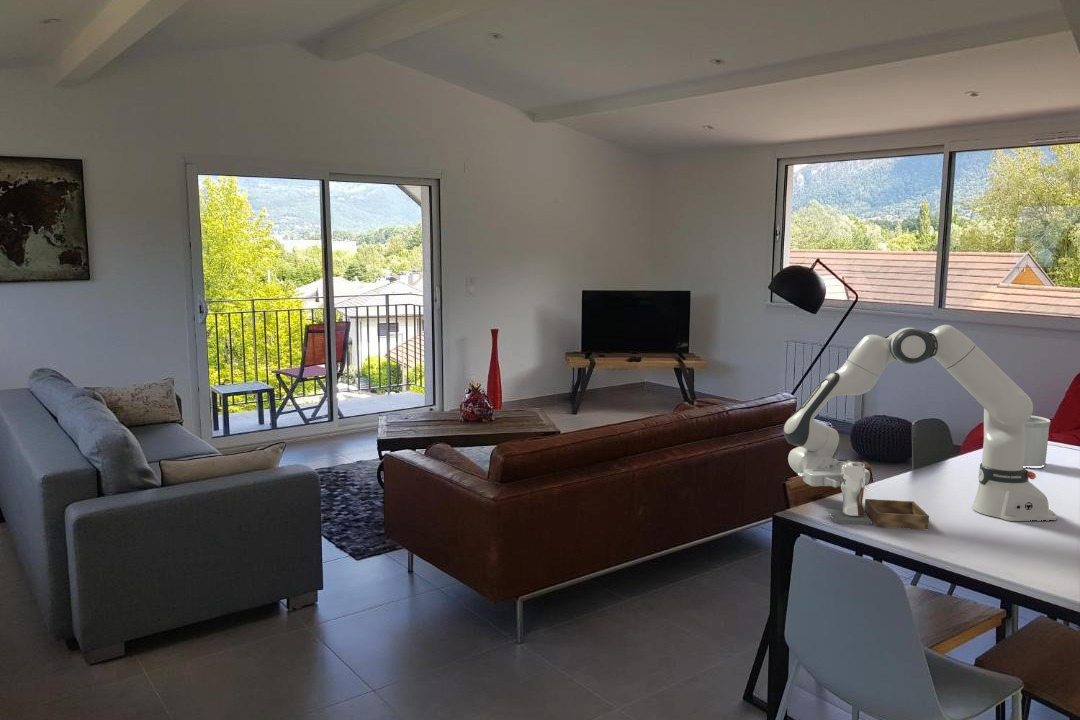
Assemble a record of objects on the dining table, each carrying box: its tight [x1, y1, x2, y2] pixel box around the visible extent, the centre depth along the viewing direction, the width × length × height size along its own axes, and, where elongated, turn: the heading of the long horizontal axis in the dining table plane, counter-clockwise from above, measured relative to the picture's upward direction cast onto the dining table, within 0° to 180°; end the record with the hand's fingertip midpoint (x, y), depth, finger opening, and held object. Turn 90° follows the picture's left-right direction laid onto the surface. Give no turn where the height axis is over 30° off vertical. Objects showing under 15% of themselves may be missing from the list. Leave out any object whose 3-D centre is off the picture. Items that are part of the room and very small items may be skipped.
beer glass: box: [840, 461, 866, 517], centre depth 247 cm, size 7×7×15 cm
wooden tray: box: [863, 498, 930, 530], centre depth 246 cm, size 14×14×4 cm
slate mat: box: [827, 508, 873, 525], centre depth 247 cm, size 10×10×1 cm
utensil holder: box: [1023, 415, 1052, 466], centre depth 311 cm, size 15×15×18 cm
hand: (851, 483), depth 246 cm, fingers open, 8 cm apart
